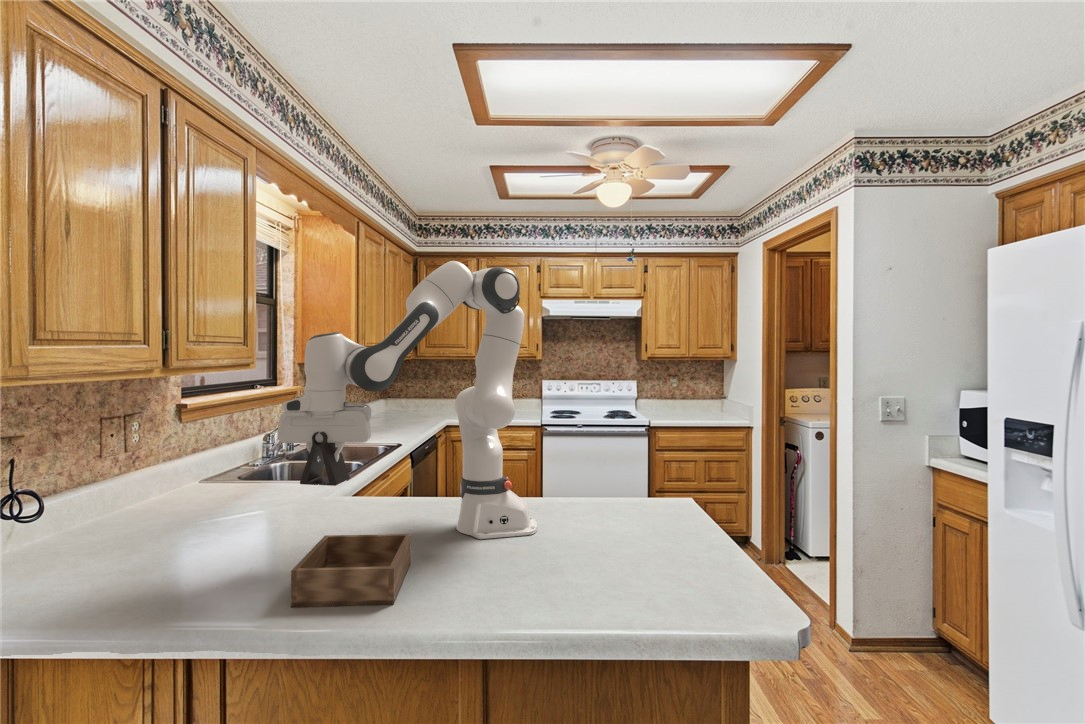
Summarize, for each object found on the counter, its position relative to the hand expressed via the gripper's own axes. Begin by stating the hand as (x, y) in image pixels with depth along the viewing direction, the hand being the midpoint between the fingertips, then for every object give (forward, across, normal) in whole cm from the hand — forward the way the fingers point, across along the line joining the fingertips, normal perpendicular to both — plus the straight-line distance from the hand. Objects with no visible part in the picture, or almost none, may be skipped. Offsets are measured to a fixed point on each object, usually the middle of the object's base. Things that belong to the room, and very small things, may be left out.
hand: (325, 461), depth 120 cm
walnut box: (+23, -11, +14) cm, 29 cm away
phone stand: (+5, 0, 0) cm, 5 cm away
